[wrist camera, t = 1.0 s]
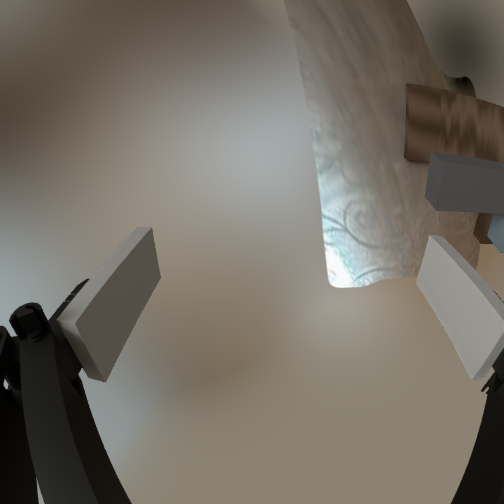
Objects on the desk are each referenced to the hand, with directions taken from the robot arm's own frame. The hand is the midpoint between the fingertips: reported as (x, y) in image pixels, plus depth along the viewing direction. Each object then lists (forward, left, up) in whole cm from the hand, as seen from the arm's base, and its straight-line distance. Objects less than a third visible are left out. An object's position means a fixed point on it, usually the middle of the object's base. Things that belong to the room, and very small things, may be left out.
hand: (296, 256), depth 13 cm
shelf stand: (0, +24, -39) cm, 46 cm away
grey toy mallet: (0, +20, -11) cm, 23 cm away
